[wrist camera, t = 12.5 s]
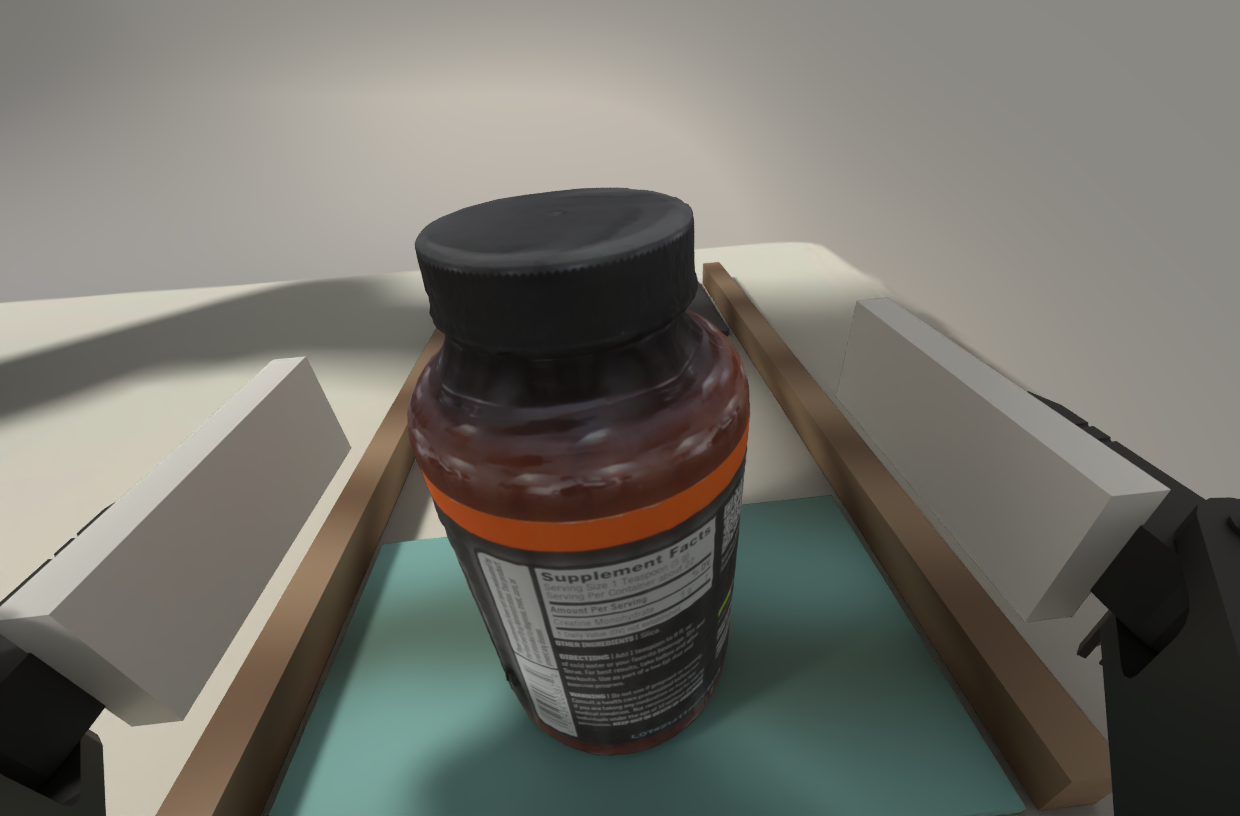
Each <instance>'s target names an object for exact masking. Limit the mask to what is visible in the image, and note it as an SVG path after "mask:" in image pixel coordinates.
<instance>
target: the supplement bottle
mask: <svg viewBox="0 0 1240 816" xmlns="http://www.w3.org/2000/svg"><path fill="white" fill-rule="evenodd" d="M415 250H416V254H417V259H418V263H419V267H420V270H421V274H422V278H423V283H424V287H425V291H426V293H427V295H428V296H429V302H430V315H431V317H432V319H433V323H434V324H435V326H436V328H437V329H439V330H440V331H441V332H442V333H444V334H445V339H444V342H443V345H442V347H441V348H440V349H439V350H438V352H437V353H436V354H434V355H433V356H432V357H431V358H430V360H429V362H428V363H427V364H426V366H425V367H424V369H423V371H422V372H421V374H420V376H419V377H418V380H417V383H416V386H415V388H414V391H413V393H412V395H411V397H410V402H409V405H408V410H407V418H408V434H409V439H410V443H411V446H412V448H413V451H414V454H415V457H416V459H417V462H418V465H419V467H420V469H421V472H422V474H423V477H424V479H425V481H426V484H427V486H428V489H429V491H430V493H431V496H432V498H433V501H434V505H435V508H436V511H437V513H438V517H439V519H440V521H441V523H442V525H443V526H444V527H445V530H446V533H447V537H448V540H449V542H450V544H451V546H452V548H453V550H454V552H455V555H456V557H457V560H458V562H459V565H460V567H461V569H462V572H463V573H464V576H465V578H466V581H467V584H468V587H469V589H470V591H471V593H472V596H473V598H474V600H475V602H476V605H477V607H478V609H479V612H480V614H481V617H482V619H483V621H484V623H485V625H486V628H487V631H488V633H489V635H490V638H491V641H492V643H493V645H494V647H495V649H496V652H497V655H498V657H499V659H500V662H501V665H502V668H503V670H504V672H505V674H506V681H508V682H509V684H510V687H511V689H512V690H513V691H514V693H515V694H516V696H517V698H518V700H519V702H520V703H521V705H522V706H523V708H524V710H525V711H526V713H527V715H528V716H529V717H530V718H531V719H532V720H533V721H534V722H535V723H536V724H537V725H538V726H539V728H540V729H541V730H543V731H544V732H546V733H547V734H548V735H549V736H551V737H553V738H555V739H556V740H558V741H560V742H561V743H563V744H565V745H567V746H570V747H572V748H574V749H577V750H580V751H583V752H586V753H591V754H595V755H609V756H613V755H625V754H631V753H637V752H641V751H644V750H647V749H650V748H653V747H656V746H658V745H660V744H662V743H664V742H665V741H668V740H670V739H671V738H673V737H675V736H676V735H677V734H679V733H680V732H681V731H683V730H684V729H685V728H687V727H688V726H689V725H690V724H691V723H692V722H693V721H694V720H695V719H696V718H697V717H698V716H699V715H700V713H701V712H702V710H703V709H704V707H705V705H706V704H707V702H708V701H709V699H710V698H711V696H712V695H713V692H714V690H715V688H716V686H717V684H718V682H719V679H720V675H721V672H722V669H723V665H724V659H725V655H726V650H727V646H728V636H729V627H730V617H731V606H732V596H733V588H734V577H735V569H736V556H737V548H738V538H739V525H740V516H741V503H742V493H743V482H744V471H745V463H746V452H747V440H748V429H749V418H750V403H749V385H748V380H747V375H746V371H745V368H744V365H743V362H742V360H741V358H740V356H739V354H738V352H737V350H736V348H735V347H734V346H733V344H732V343H731V341H730V340H729V338H728V337H727V336H726V335H724V334H723V333H722V332H721V331H720V330H719V329H718V328H717V327H716V326H715V325H713V324H712V323H711V322H709V321H708V320H707V319H705V318H703V317H702V316H700V315H698V314H696V313H694V312H692V311H690V310H688V309H687V307H688V306H689V305H690V304H691V302H692V301H693V300H694V298H695V296H696V292H697V289H698V280H697V276H696V273H695V265H694V218H693V211H692V209H691V207H690V206H689V205H688V204H686V203H684V202H683V201H682V200H680V199H678V198H676V197H671V196H669V195H666V194H662V193H658V192H654V191H648V190H634V189H629V188H585V189H584V188H583V189H572V190H563V191H552V192H545V193H538V194H529V195H522V196H515V197H509V198H503V199H497V200H493V201H489V202H485V203H482V204H478V205H474V206H471V207H467V208H463V209H461V210H458V211H456V212H453V213H451V214H448V215H446V216H443V217H441V218H439V219H437V220H435V221H433V222H432V223H430V224H429V225H427V226H426V227H425V228H424V229H423V230H422V231H421V233H420V234H419V235H418V237H417V239H416V242H415Z"/></svg>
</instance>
